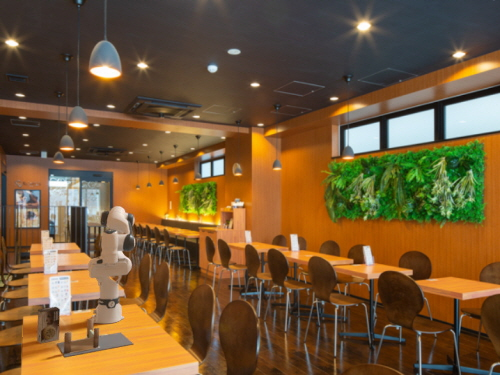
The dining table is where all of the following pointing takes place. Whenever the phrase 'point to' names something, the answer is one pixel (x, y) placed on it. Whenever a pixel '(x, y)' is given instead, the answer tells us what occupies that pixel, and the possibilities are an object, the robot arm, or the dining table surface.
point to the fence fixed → (80, 342)
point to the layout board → (101, 344)
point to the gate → (90, 328)
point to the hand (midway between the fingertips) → (108, 284)
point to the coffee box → (48, 324)
